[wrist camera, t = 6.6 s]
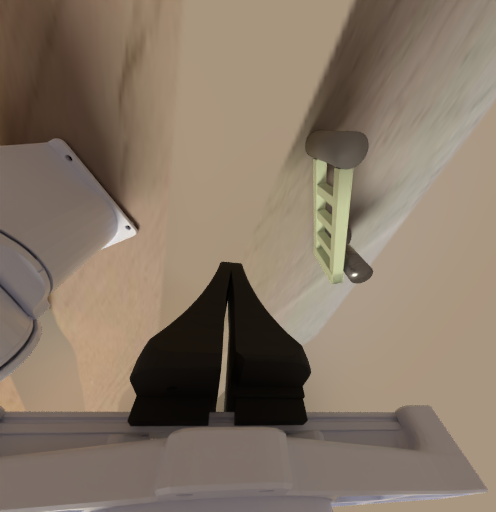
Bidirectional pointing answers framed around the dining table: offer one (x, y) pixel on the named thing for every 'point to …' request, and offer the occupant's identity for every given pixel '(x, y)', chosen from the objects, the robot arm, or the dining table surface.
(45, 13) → the dining table surface
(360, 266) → the post
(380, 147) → the dining table surface
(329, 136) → the gate
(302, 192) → the dining table surface
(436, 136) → the dining table surface
